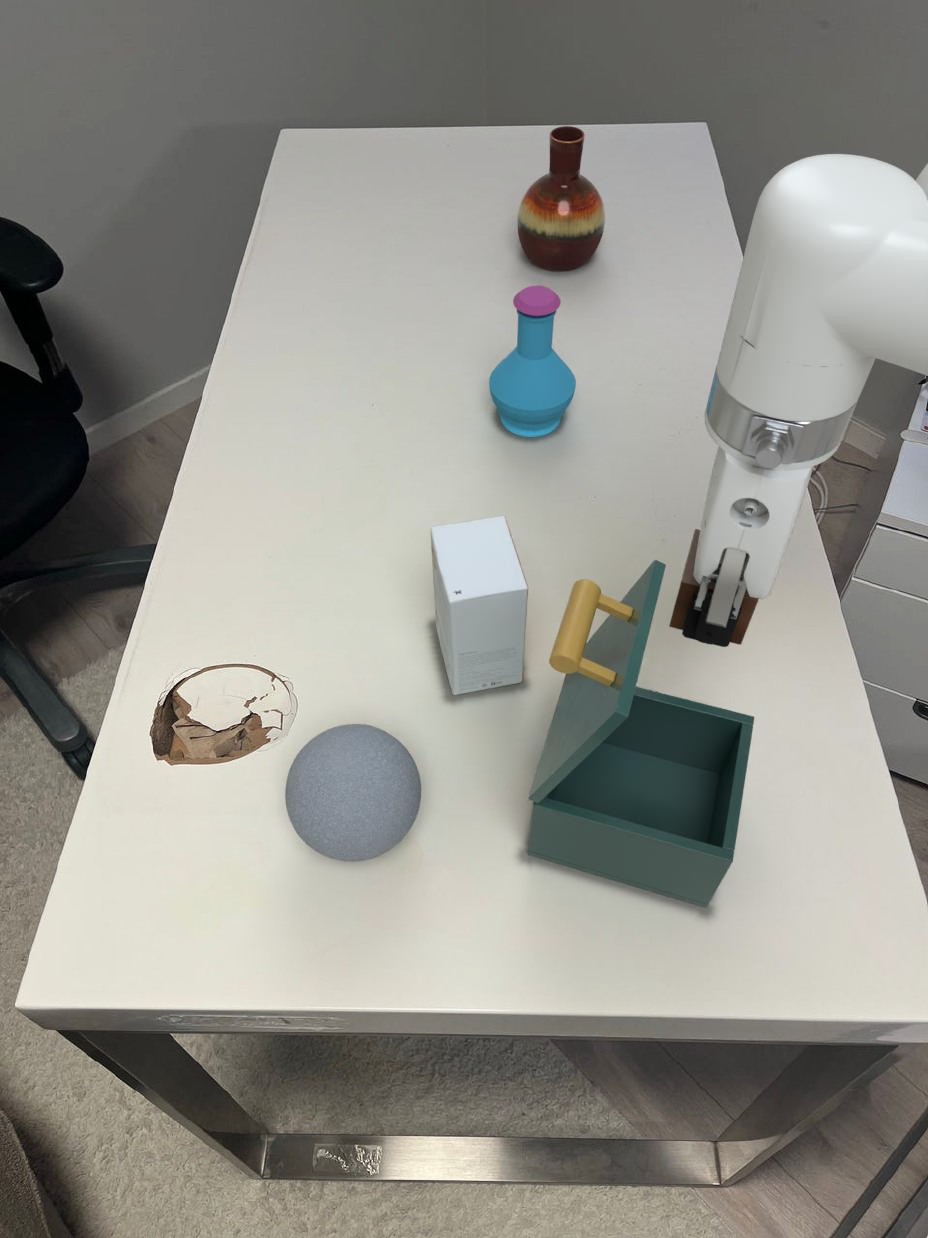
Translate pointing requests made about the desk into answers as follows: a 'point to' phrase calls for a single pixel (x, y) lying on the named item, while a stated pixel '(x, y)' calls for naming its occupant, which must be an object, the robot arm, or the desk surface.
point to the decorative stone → (353, 792)
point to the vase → (561, 208)
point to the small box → (479, 604)
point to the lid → (595, 672)
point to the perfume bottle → (533, 370)
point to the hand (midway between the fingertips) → (712, 605)
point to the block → (692, 587)
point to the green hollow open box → (653, 800)
